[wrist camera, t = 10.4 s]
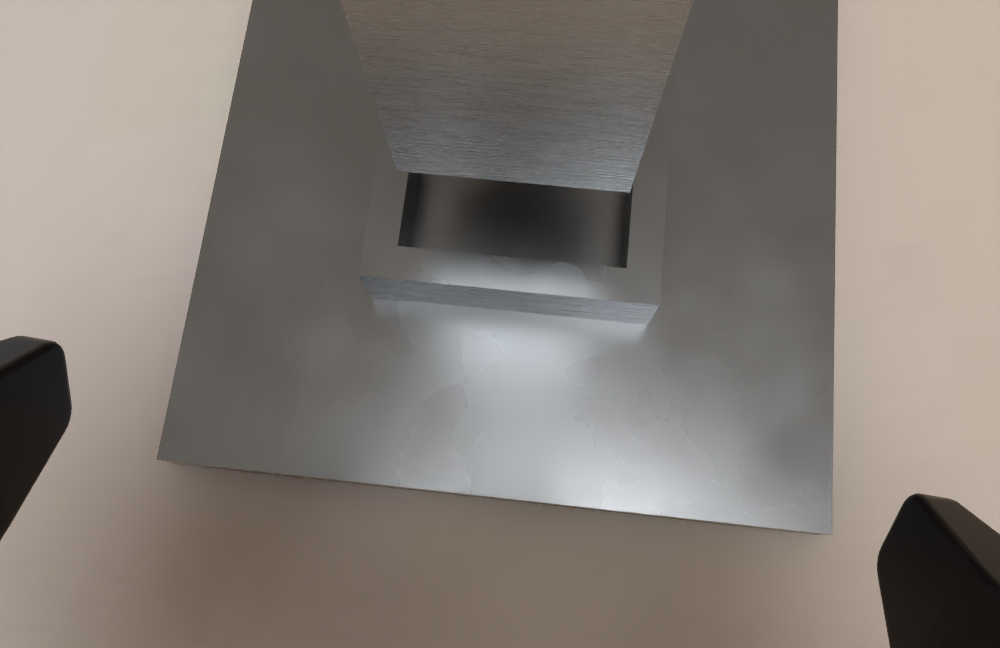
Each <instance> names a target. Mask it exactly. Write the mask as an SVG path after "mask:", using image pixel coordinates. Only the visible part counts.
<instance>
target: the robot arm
mask: <svg viewBox="0 0 1000 648" xmlns="http://www.w3.org/2000/svg"><path fill="white" fill-rule="evenodd" d="M71 409H72V405H71V397H70V389H69V382H68V375H67V367H66V360H65V355H64V351H63V349H62V348H61V346H60V345H59V344H57V343H56V342H54V341H49V340H43V339H38V338H32V337H27V336H15V337H12V338H8V339H5V340H2V341H0V540H1V539H2V537H3V535H4V534H5V532H6V531H7V529H8V528H9V526H10V524H11V522H12V521H13V519H14V517H15V516H16V514H17V512H18V511H19V509H20V507H21V505H22V504H23V502H24V500H25V499H26V497H27V495H28V494H29V492H30V490H31V488H32V487H33V485H34V483H35V482H36V480H37V478H38V476H39V475H40V473H41V471H42V470H43V468H44V466H45V465H46V463H47V461H48V459H49V458H50V456H51V454H52V453H53V451H54V449H55V448H56V446H57V444H58V442H59V441H60V439H61V437H62V436H63V434H64V432H65V430H66V428H67V426H68V424H69V421H70V417H71ZM877 572H878V579H879V585H880V591H881V597H882V603H883V609H884V615H885V620H886V626H887V632H888V638H889V644H890V648H1000V534H999V533H997V532H996V531H995V530H993V529H992V528H991V527H989V526H988V525H987V524H986V523H984V522H983V521H982V520H980V519H979V518H978V517H976V516H975V515H974V514H972V513H971V512H970V511H968V510H967V509H966V508H965V507H963V506H962V505H961V504H959V503H958V502H956V501H954V500H952V499H948V498H942V497H936V496H931V495H925V494H914V495H911V496H909V497H908V498H907V499H906V500H905V502H904V503H903V505H902V507H901V509H900V511H899V513H898V515H897V517H896V519H895V521H894V523H893V525H892V527H891V529H890V531H889V533H888V535H887V537H886V539H885V541H884V543H883V545H882V547H881V549H880V552H879V555H878V562H877Z"/></svg>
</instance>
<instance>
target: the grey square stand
mask: <svg viewBox="0 0 1000 648" xmlns="http://www.w3.org/2000/svg"><path fill="white" fill-rule="evenodd" d="M837 32H838V0H694V1H693V4H692V7H691V10H690V13H689V16H688V19H687V22H686V25H685V28H684V31H683V34H682V37H681V40H680V43H679V46H678V49H677V52H676V55H675V58H674V61H673V64H672V67H671V70H670V73H669V76H668V79H667V82H666V85H665V88H664V91H663V94H662V97H661V100H660V103H659V106H658V109H657V112H656V115H655V118H654V121H653V124H652V127H651V130H650V133H649V136H648V139H647V142H646V145H645V148H644V151H643V154H642V157H641V160H640V163H639V166H638V169H637V172H636V175H635V178H634V181H633V184H632V187H631V190H630V193H627V192H616V191H606V190H595V189H584V188H573V187H563V186H552V185H541V184H530V183H520V182H509V181H498V180H488V179H477V178H466V177H455V176H445V175H434V174H423V173H413V172H402V171H397V170H396V167H395V164H394V161H393V158H392V155H391V152H390V149H389V146H388V143H387V140H386V137H385V134H384V131H383V128H382V125H381V122H380V119H379V116H378V113H377V110H376V107H375V104H374V101H373V98H372V95H371V92H370V89H369V86H368V83H367V80H366V77H365V74H364V71H363V68H362V65H361V62H360V59H359V56H358V53H357V50H356V47H355V44H354V41H353V38H352V35H351V32H350V29H349V26H348V23H347V20H346V17H345V14H344V11H343V8H342V5H341V2H340V0H253V2H252V6H251V11H250V16H249V21H248V26H247V30H246V35H245V40H244V45H243V50H242V54H241V59H240V64H239V69H238V73H237V78H236V83H235V88H234V93H233V97H232V102H231V107H230V112H229V117H228V121H227V126H226V131H225V136H224V141H223V145H222V150H221V155H220V160H219V164H218V169H217V174H216V179H215V184H214V188H213V193H212V198H211V203H210V208H209V212H208V217H207V222H206V227H205V232H204V236H203V241H202V246H201V251H200V255H199V260H198V265H197V270H196V275H195V279H194V284H193V289H192V294H191V299H190V303H189V308H188V313H187V318H186V323H185V327H184V332H183V337H182V342H181V346H180V351H179V356H178V361H177V366H176V370H175V375H174V380H173V385H172V390H171V394H170V399H169V404H168V409H167V414H166V418H165V423H164V428H163V433H162V437H161V442H160V447H159V452H158V457H157V460H161V461H166V462H171V463H178V464H187V465H196V466H205V467H214V468H223V469H232V470H241V471H250V472H259V473H268V474H277V475H286V476H295V477H304V478H313V479H322V480H331V481H340V482H349V483H358V484H367V485H376V486H385V487H394V488H403V489H412V490H421V491H430V492H439V493H448V494H457V495H466V496H475V497H484V498H493V499H502V500H511V501H520V502H529V503H538V504H547V505H556V506H565V507H574V508H583V509H592V510H601V511H610V512H619V513H628V514H637V515H646V516H655V517H664V518H673V519H682V520H691V521H700V522H709V523H718V524H727V525H736V526H745V527H754V528H762V529H771V530H780V531H789V532H798V533H807V534H816V535H832V479H833V390H834V300H835V211H836V122H837Z"/></svg>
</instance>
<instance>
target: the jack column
mask: <svg viewBox="0 0 1000 648" xmlns="http://www.w3.org/2000/svg"><path fill="white" fill-rule="evenodd" d="M693 1H694V0H340V2H341V5H342V8H343V11H344V14H345V17H346V20H347V23H348V26H349V29H350V32H351V35H352V38H353V41H354V44H355V47H356V50H357V53H358V56H359V59H360V62H361V65H362V68H363V71H364V74H365V77H366V80H367V83H368V86H369V89H370V92H371V95H372V98H373V101H374V104H375V107H376V110H377V113H378V116H379V119H380V122H381V125H382V128H383V131H384V134H385V137H386V140H387V143H388V146H389V149H390V152H391V155H392V158H393V161H394V164H395V167H396V170H397V171H402V172H413V173H423V174H434V175H445V176H455V177H466V178H477V179H488V180H498V181H509V182H520V183H530V184H541V185H552V186H563V187H573V188H584V189H595V190H606V191H616V192H627V193H630V190H631V187H632V184H633V181H634V178H635V175H636V172H637V169H638V166H639V163H640V160H641V157H642V154H643V151H644V148H645V145H646V142H647V139H648V136H649V133H650V130H651V127H652V124H653V121H654V118H655V115H656V112H657V109H658V106H659V103H660V100H661V97H662V94H663V91H664V88H665V85H666V82H667V79H668V76H669V73H670V70H671V67H672V64H673V61H674V58H675V55H676V52H677V49H678V46H679V43H680V40H681V37H682V34H683V31H684V28H685V25H686V22H687V19H688V16H689V13H690V10H691V7H692V4H693Z"/></svg>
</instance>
